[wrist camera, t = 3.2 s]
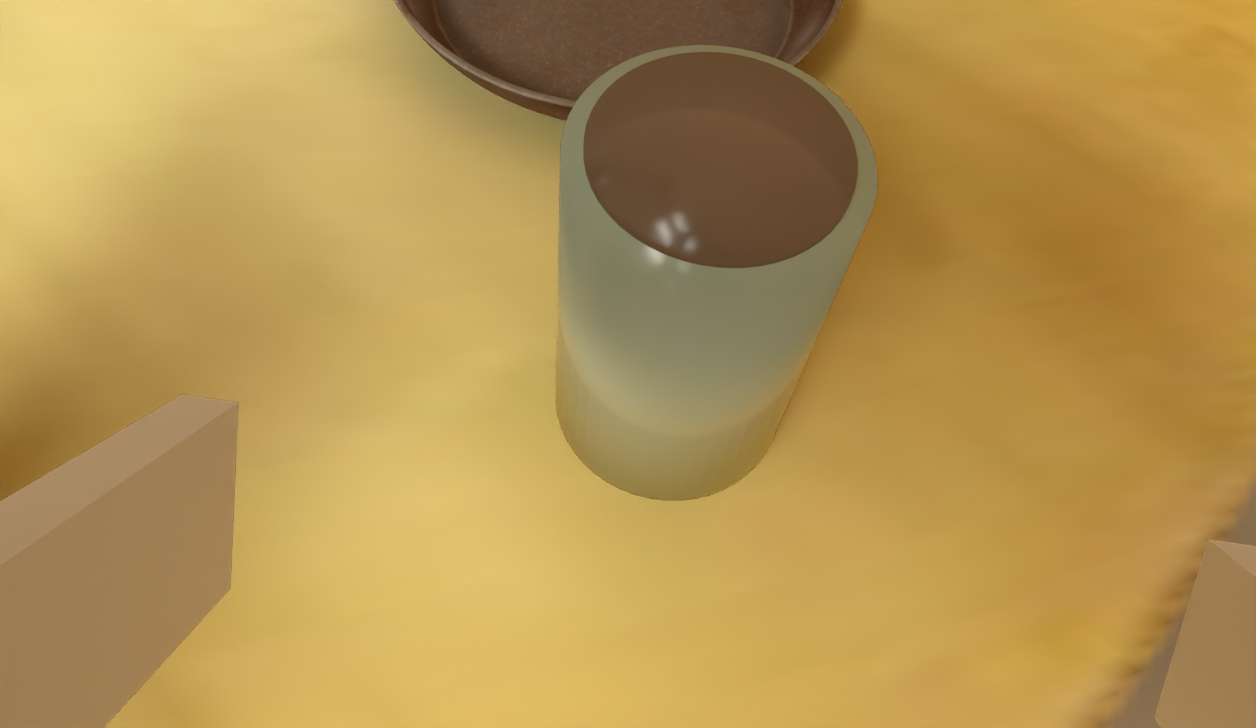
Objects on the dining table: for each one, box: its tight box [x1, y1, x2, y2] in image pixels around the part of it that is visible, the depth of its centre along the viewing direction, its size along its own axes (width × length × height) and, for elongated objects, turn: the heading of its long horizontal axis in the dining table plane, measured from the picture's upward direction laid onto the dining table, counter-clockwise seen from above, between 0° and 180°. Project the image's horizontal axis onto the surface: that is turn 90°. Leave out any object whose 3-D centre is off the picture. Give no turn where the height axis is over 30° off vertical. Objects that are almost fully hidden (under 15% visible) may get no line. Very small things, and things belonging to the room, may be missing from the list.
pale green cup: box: [555, 45, 878, 501], centre depth 27 cm, size 7×7×11 cm
